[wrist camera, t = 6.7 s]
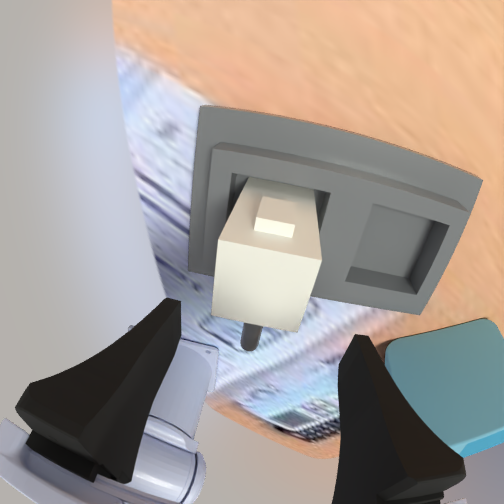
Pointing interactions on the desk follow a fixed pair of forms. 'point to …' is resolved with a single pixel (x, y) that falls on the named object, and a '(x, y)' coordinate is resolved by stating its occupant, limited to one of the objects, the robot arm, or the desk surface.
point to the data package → (454, 382)
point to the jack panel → (337, 203)
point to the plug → (267, 259)
